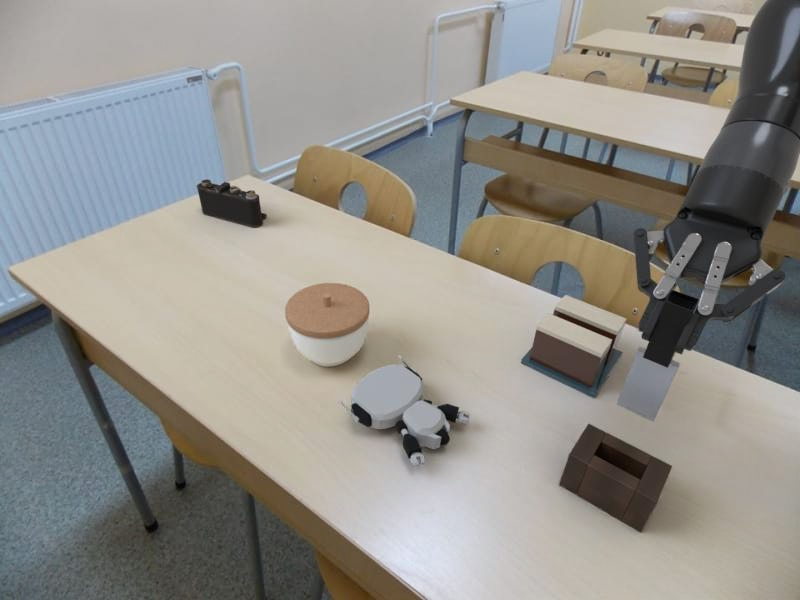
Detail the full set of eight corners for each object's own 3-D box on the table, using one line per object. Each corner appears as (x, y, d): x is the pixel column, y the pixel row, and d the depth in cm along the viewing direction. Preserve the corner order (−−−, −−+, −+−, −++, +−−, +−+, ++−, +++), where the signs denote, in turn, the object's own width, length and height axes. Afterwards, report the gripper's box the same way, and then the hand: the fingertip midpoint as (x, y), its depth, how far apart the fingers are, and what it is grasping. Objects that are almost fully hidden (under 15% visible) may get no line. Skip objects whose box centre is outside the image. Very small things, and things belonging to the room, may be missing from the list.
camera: (273, 217, 120) (269, 185, 115) (255, 229, 115) (250, 196, 110) (217, 203, 126) (211, 171, 121) (198, 214, 121) (190, 181, 116)
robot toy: (472, 428, 72) (394, 370, 79) (478, 407, 69) (396, 349, 76) (414, 484, 64) (334, 414, 72) (418, 463, 62) (334, 393, 69)
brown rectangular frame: (656, 496, 63) (672, 465, 59) (640, 532, 59) (657, 502, 56) (577, 453, 68) (588, 422, 64) (558, 484, 64) (569, 454, 60)
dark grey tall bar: (657, 413, 56) (708, 302, 48) (651, 426, 55) (702, 314, 46) (621, 396, 58) (663, 286, 49) (613, 408, 57) (655, 297, 48)
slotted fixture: (621, 355, 84) (635, 318, 79) (594, 398, 76) (607, 359, 71) (552, 326, 90) (561, 290, 85) (520, 362, 82) (528, 325, 77)
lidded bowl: (300, 324, 88) (293, 270, 82) (373, 328, 88) (373, 274, 81) (282, 376, 78) (273, 319, 72) (365, 381, 78) (364, 324, 71)
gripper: (664, 146, 50) (586, 307, 49) (838, 185, 43) (751, 372, 42) (662, 181, 56) (593, 324, 55) (813, 220, 49) (737, 383, 49)
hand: (662, 344), depth 49 cm, fingers closed on dark grey tall bar, 2 cm apart
